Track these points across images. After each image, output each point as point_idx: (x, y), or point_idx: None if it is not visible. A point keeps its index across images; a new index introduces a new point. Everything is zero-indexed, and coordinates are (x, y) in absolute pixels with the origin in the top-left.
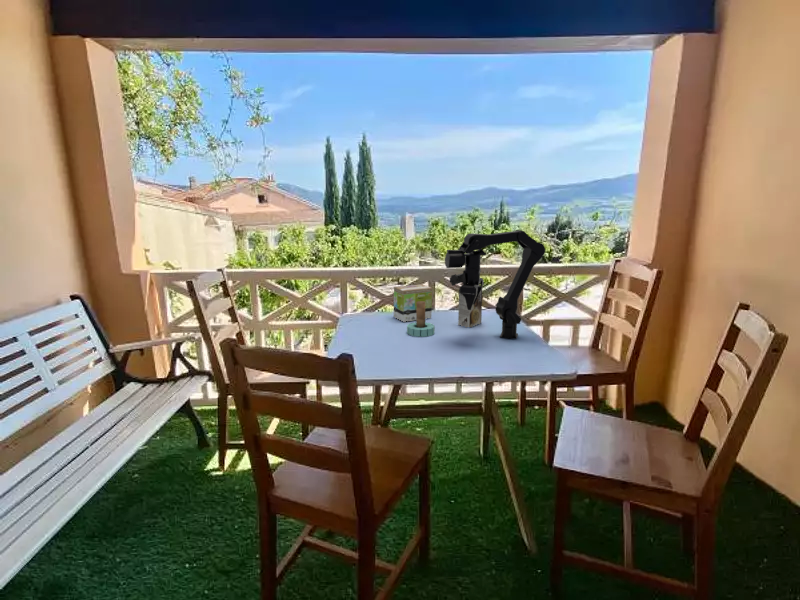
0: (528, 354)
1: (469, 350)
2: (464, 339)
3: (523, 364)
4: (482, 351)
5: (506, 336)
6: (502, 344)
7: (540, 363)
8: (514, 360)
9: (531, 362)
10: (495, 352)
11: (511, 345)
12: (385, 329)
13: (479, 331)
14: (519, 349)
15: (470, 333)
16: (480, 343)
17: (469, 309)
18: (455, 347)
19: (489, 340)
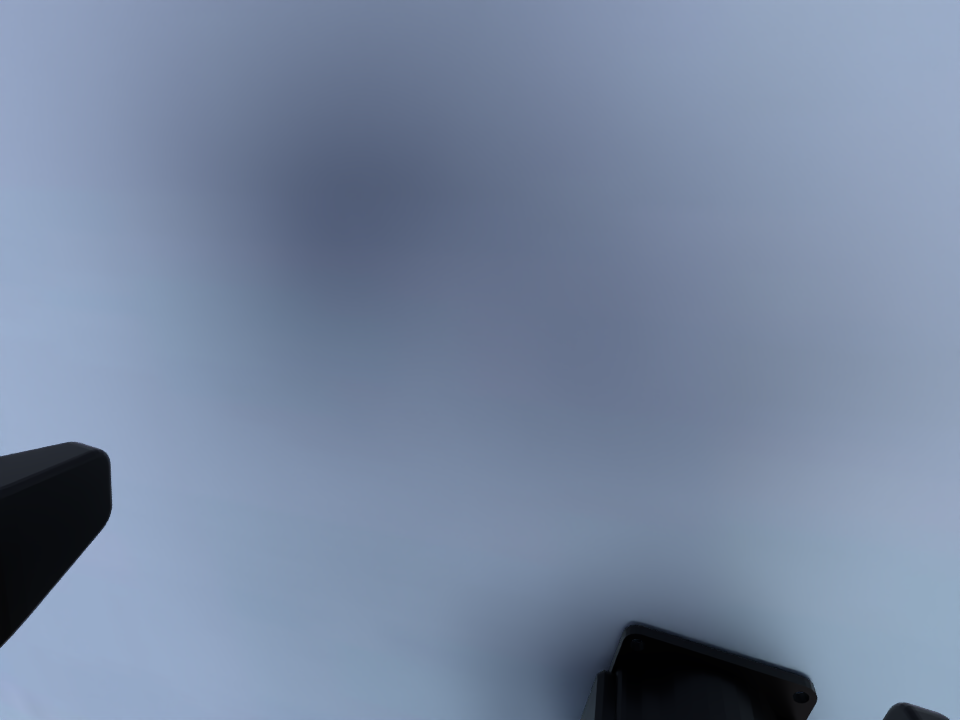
0: (207, 703)
1: (165, 254)
2: (549, 212)
3: None
4: (174, 381)
5: (594, 689)
6: (414, 592)
7: (62, 712)
8: None
9: (59, 671)
10: (181, 488)
11: (397, 654)
12: None
13: (943, 448)
14: (304, 681)
15: (846, 314)
16: (413, 393)
17: (70, 490)
18: (218, 87)
19: (532, 502)
